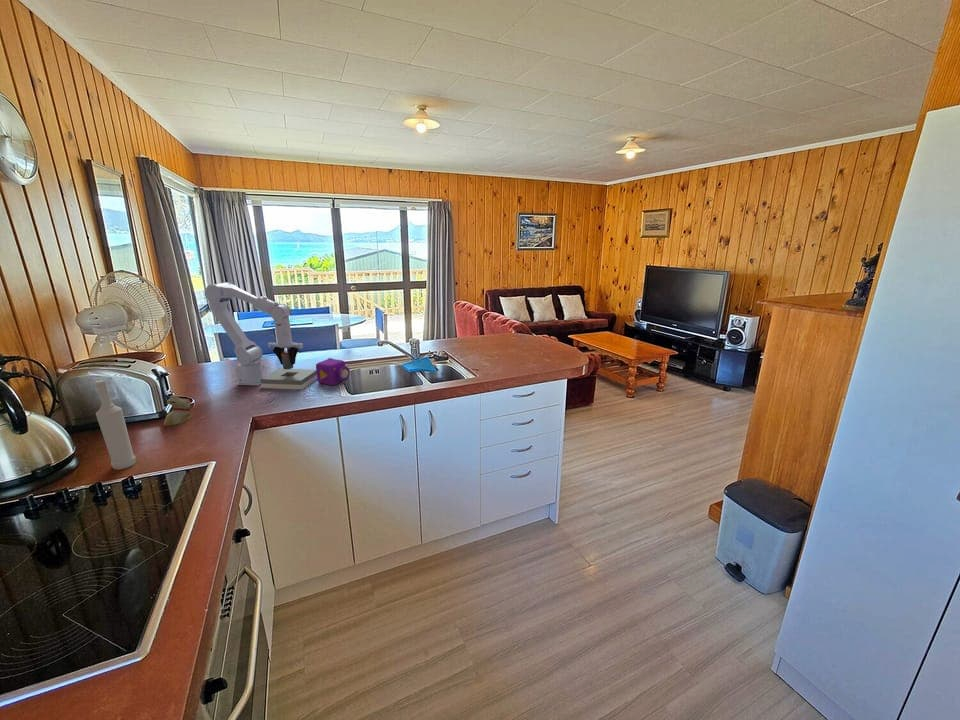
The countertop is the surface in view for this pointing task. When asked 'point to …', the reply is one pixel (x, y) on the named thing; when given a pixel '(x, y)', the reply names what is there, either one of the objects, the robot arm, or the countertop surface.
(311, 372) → the white flat box
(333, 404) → the countertop surface
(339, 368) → the toy camera
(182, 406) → the chocolate bunny
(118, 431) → the bottle
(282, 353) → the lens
